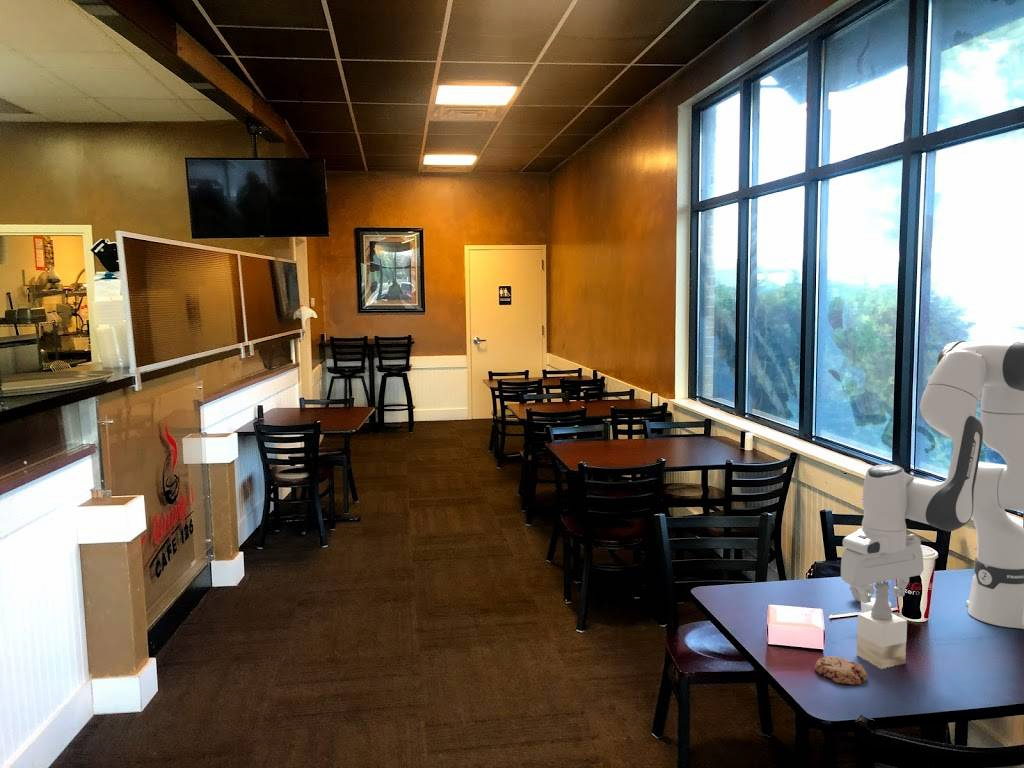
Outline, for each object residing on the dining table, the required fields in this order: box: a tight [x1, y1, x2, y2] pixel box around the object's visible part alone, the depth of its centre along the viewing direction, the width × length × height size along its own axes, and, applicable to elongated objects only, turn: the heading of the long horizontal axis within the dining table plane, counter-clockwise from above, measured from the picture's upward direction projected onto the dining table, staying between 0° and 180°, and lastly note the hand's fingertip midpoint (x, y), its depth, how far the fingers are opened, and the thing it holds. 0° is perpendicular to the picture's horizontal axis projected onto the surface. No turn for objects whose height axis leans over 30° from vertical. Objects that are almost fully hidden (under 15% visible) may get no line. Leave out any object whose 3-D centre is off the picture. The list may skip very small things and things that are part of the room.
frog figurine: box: [849, 583, 876, 603], centre depth 203 cm, size 6×7×7 cm
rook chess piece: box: [871, 581, 893, 620], centre depth 169 cm, size 4×4×8 cm
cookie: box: [814, 656, 868, 686], centre depth 164 cm, size 10×11×3 cm
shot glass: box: [860, 596, 892, 613], centre depth 186 cm, size 7×7×7 cm
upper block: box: [856, 611, 908, 648], centre depth 170 cm, size 7×7×5 cm
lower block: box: [856, 634, 907, 670], centre depth 171 cm, size 7×7×5 cm
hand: (882, 598), depth 169 cm, fingers open, 8 cm apart
